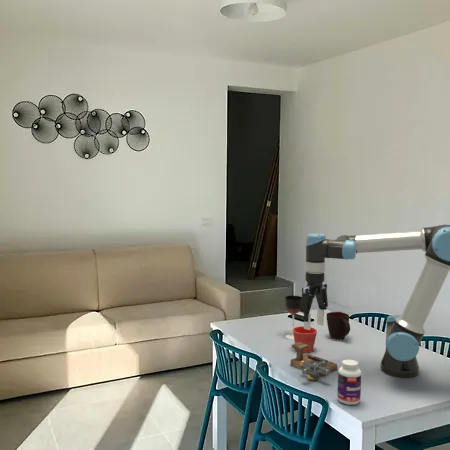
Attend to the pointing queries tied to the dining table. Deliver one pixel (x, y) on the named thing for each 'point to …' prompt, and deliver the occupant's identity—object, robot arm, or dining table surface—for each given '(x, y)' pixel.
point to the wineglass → (292, 309)
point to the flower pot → (305, 337)
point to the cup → (338, 325)
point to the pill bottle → (349, 383)
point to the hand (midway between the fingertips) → (313, 326)
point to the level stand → (309, 358)
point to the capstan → (314, 369)
